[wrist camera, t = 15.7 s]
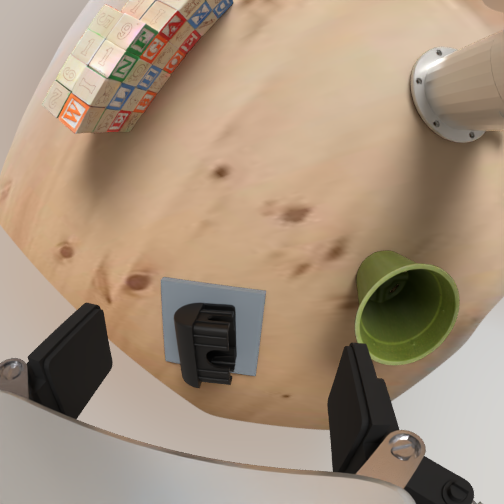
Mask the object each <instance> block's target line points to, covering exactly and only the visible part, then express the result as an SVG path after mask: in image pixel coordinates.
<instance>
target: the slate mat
mask: <svg viewBox="0 0 504 504" xmlns="http://www.w3.org/2000/svg"><path fill="white" fill-rule="evenodd" d="M265 295H266V291H263V290H255V289H247V288H240V287H232V286H224V285H217V284H209V283H202V282H195V281H188V280H181V279H174V278H167V277H163V278H162V279H161V296H162V316H163V332H164V346H165V358H166V361H169V362H174V363H179V364H180V359H179V352H178V346H177V339H176V332H175V324H174V314H175V312H176V311H177V310H178V309H179V308H180V307H182V306H184V305H187V304H191V303H199V302H200V303H213V304H227V305H233V306H234V307H235V310H236V347H237V357H236V363H235V369H234V372H230V373H237V374H244V375H251V376H256V369H257V361H258V353H259V345H260V337H261V329H262V321H263V312H264V304H265Z"/></svg>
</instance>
